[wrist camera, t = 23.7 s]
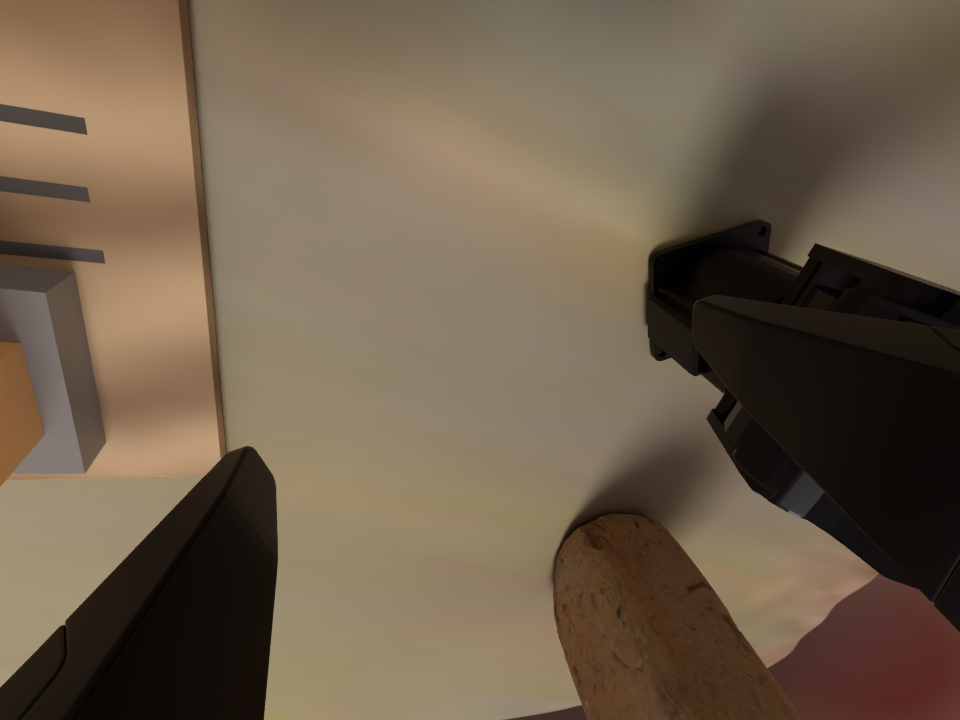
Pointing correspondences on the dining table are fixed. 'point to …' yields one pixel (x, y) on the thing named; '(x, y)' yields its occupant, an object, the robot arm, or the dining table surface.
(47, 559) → the dining table surface
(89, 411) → the sanding block
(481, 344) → the dining table surface
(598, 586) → the bread loaf
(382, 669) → the dining table surface
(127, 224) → the board
